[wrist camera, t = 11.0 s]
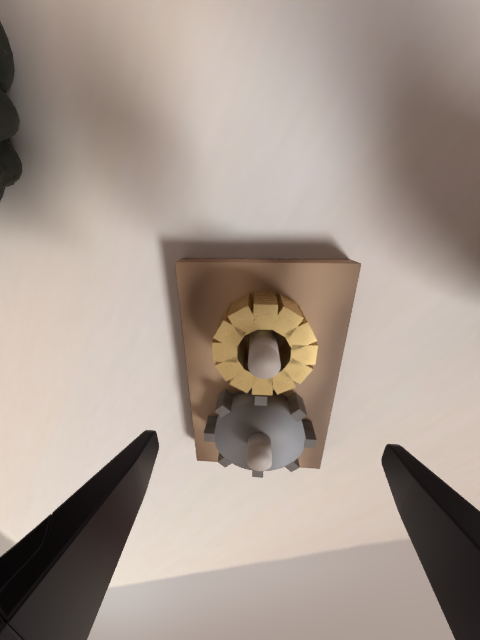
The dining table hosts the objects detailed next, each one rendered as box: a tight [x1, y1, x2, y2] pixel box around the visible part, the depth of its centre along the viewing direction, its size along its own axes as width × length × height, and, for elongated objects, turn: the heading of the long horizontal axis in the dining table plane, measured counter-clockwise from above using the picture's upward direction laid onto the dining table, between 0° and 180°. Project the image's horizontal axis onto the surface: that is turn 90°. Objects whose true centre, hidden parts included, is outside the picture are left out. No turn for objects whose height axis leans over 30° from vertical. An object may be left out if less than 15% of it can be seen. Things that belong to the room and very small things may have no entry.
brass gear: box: [212, 291, 318, 395], centre depth 17 cm, size 7×7×3 cm
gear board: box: [175, 258, 361, 477], centre depth 19 cm, size 13×21×6 cm, turn 0°
